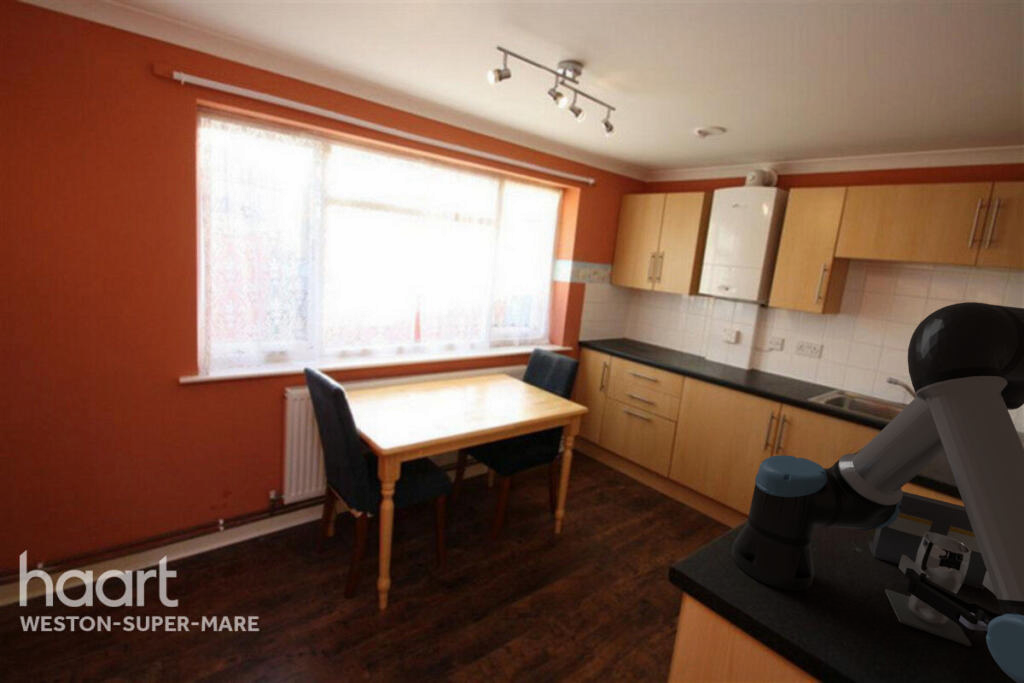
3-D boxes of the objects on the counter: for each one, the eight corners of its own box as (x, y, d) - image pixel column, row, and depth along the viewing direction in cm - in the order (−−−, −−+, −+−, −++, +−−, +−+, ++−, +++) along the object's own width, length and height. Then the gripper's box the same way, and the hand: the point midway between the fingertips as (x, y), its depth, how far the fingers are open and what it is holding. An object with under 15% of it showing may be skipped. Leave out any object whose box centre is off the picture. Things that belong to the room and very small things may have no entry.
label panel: (874, 558, 107) (891, 493, 104) (868, 545, 112) (884, 483, 109) (984, 591, 99) (1005, 521, 96) (971, 575, 104) (991, 509, 101)
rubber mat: (899, 622, 86) (900, 620, 86) (884, 591, 95) (885, 588, 95) (970, 646, 82) (971, 644, 82) (948, 611, 91) (948, 609, 91)
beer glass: (895, 597, 93) (914, 528, 90) (936, 607, 91) (957, 537, 88) (914, 622, 86) (936, 548, 83) (960, 633, 84) (983, 558, 82)
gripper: (942, 664, 68) (863, 572, 88) (1151, 711, 64) (1017, 603, 84) (956, 618, 67) (873, 536, 87) (1170, 663, 62) (1029, 566, 83)
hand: (943, 569), depth 86 cm, fingers open, 13 cm apart
